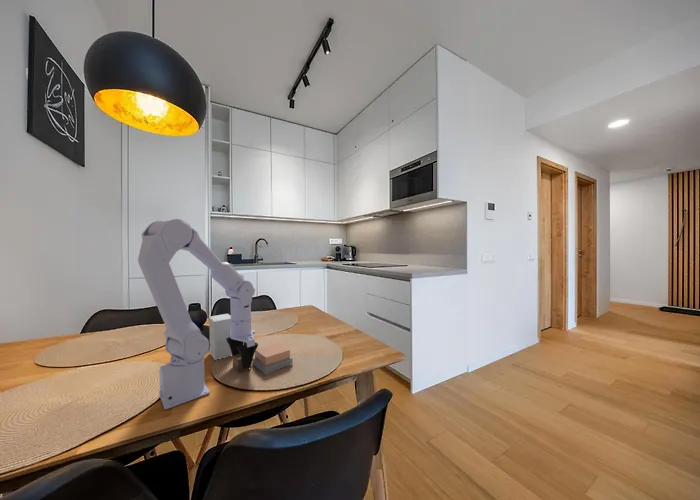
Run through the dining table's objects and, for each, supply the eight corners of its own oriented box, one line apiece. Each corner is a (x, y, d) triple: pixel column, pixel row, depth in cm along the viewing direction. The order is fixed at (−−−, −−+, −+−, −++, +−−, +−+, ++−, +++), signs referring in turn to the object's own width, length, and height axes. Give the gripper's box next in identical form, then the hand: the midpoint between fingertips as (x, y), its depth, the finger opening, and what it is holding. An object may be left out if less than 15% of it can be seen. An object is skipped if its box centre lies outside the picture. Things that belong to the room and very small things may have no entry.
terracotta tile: (265, 365, 76) (265, 357, 76) (255, 357, 82) (254, 349, 82) (290, 357, 82) (289, 350, 81) (278, 350, 87) (278, 343, 87)
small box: (235, 355, 88) (234, 317, 88) (214, 361, 84) (213, 321, 84) (228, 348, 94) (228, 313, 94) (209, 353, 90) (208, 316, 90)
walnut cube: (237, 373, 76) (237, 360, 76) (232, 368, 79) (232, 355, 79) (251, 368, 79) (250, 355, 79) (245, 364, 82) (245, 352, 82)
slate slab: (265, 376, 75) (265, 367, 75) (252, 366, 82) (252, 358, 82) (292, 366, 81) (292, 358, 81) (278, 357, 88) (278, 350, 88)
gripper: (264, 321, 76) (265, 366, 76) (244, 312, 86) (245, 352, 87) (239, 327, 71) (240, 375, 71) (222, 316, 82) (223, 358, 82)
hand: (242, 363), depth 79 cm, fingers open, 7 cm apart
